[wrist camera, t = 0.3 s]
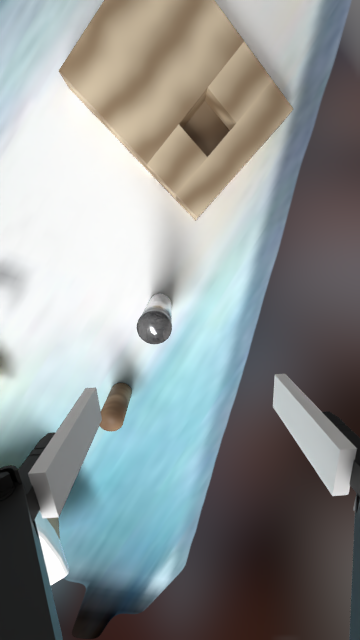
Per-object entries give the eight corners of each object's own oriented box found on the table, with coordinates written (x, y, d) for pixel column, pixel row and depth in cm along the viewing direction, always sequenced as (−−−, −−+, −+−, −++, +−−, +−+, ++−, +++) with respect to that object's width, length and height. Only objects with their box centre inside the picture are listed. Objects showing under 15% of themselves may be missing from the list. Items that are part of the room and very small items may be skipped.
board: (69, 88, 30) (58, 70, 27) (157, -44, 27) (156, -80, 24) (195, 220, 35) (197, 217, 32) (282, 122, 32) (293, 109, 29)
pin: (143, 305, 39) (129, 329, 26) (159, 288, 38) (152, 304, 25) (161, 320, 40) (155, 350, 27) (176, 304, 39) (178, 327, 26)
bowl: (-59, 479, 48) (-121, 540, 38) (40, 440, 46) (3, 492, 36) (7, 546, 54) (-31, 614, 44) (97, 514, 52) (79, 577, 42)
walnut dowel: (106, 392, 43) (92, 421, 35) (119, 379, 42) (108, 406, 35) (122, 404, 44) (112, 435, 36) (136, 391, 43) (128, 420, 36)
